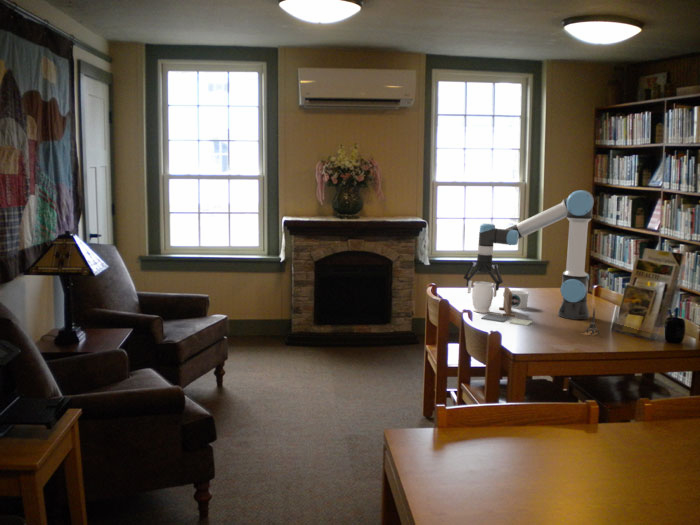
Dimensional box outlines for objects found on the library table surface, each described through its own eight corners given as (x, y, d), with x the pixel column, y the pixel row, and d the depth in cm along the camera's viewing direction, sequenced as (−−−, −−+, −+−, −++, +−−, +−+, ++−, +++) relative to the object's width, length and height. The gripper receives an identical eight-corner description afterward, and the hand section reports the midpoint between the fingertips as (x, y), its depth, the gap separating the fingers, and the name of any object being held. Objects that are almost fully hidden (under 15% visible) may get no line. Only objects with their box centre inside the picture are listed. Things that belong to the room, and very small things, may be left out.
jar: (490, 310, 372) (492, 281, 370) (492, 314, 362) (494, 285, 360) (470, 308, 373) (472, 280, 371) (471, 312, 363) (473, 284, 361)
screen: (510, 309, 375) (512, 287, 374) (515, 316, 358) (516, 293, 356) (498, 308, 376) (500, 286, 374) (503, 316, 358) (504, 292, 356)
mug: (529, 306, 386) (530, 291, 385) (525, 309, 376) (526, 294, 375) (504, 303, 391) (505, 289, 390) (500, 306, 382) (501, 292, 381)
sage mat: (532, 322, 347) (532, 320, 347) (527, 325, 339) (527, 324, 339) (514, 319, 351) (514, 318, 351) (509, 323, 343) (509, 321, 343)
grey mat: (509, 318, 355) (509, 316, 354) (503, 322, 345) (503, 320, 345) (487, 315, 360) (488, 313, 359) (481, 319, 350) (481, 317, 350)
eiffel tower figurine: (577, 329, 338) (580, 302, 336) (600, 331, 336) (602, 303, 334) (581, 337, 323) (583, 308, 321) (604, 339, 321) (607, 310, 319)
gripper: (511, 256, 361) (507, 296, 364) (464, 250, 372) (461, 290, 376) (507, 257, 354) (503, 299, 358) (459, 252, 366) (456, 292, 369)
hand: (481, 294), depth 367 cm, fingers open, 13 cm apart
